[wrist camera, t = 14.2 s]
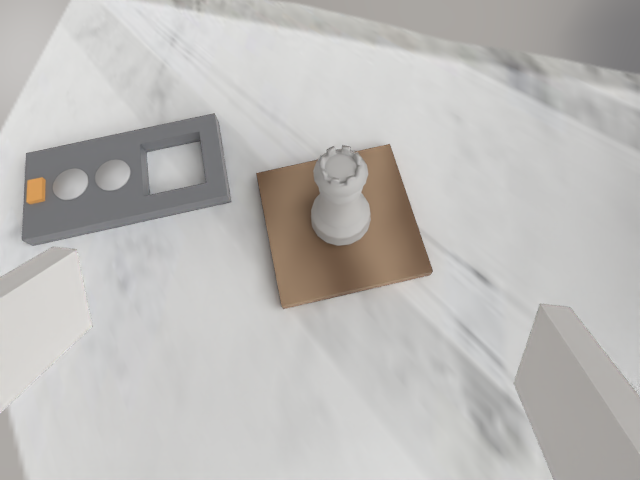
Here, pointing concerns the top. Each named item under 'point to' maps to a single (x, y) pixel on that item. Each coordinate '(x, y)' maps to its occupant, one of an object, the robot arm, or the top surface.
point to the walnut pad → (345, 260)
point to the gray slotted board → (116, 181)
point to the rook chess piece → (340, 197)
